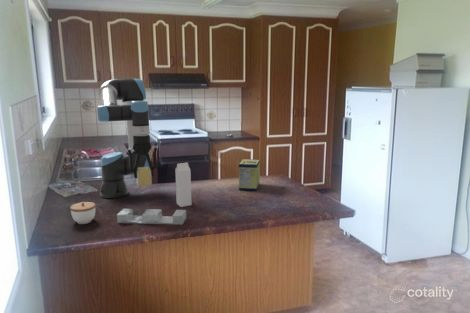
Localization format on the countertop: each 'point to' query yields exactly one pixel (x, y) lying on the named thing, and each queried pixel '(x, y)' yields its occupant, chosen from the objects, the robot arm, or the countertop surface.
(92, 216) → the lidded jar
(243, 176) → the protein box
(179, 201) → the milk
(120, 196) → the robot arm
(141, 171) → the nut block
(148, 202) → the countertop surface
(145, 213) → the rail
